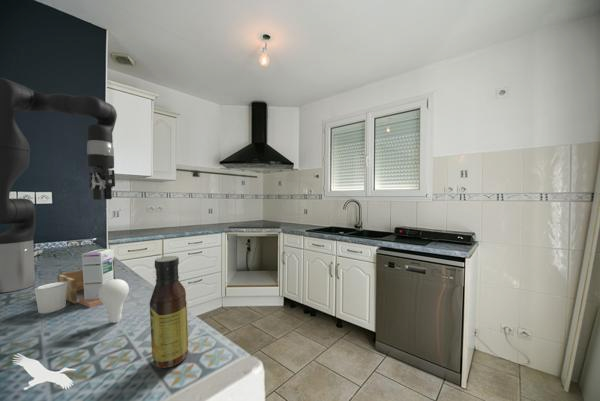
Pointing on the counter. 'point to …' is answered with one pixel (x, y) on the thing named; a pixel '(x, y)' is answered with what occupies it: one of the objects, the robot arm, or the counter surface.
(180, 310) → the sauce bottle
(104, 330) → the counter surface
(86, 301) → the tile pad
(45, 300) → the white short cylinder
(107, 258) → the syrup box
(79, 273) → the wooden box
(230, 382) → the counter surface
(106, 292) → the lightbulb
